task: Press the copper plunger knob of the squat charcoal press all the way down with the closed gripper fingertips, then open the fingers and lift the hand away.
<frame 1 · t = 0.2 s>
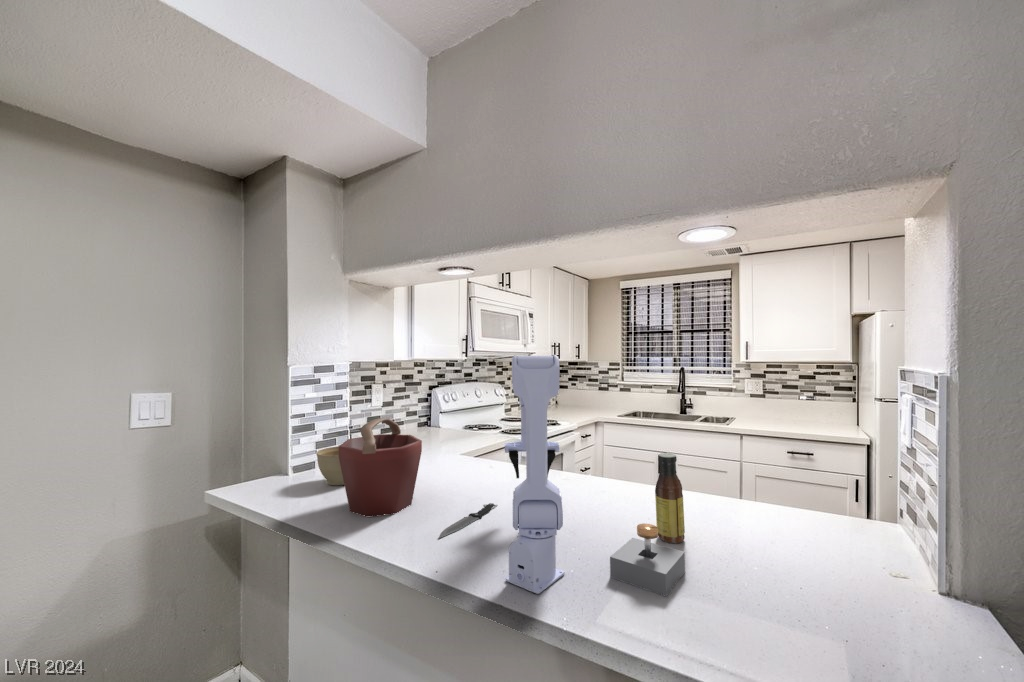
hand: (531, 476, 118), 11 cm above the countertop, tool pointing down, fingers open, 7 cm apart
planter bowl: (342, 482, 150), on the countertop
knife: (467, 522, 115), on the countertop
plunger: (647, 541, 87), point 7 cm above the countertop, slide at 3.5 cm
sauce bottle: (670, 539, 103), on the countertop
bucket: (378, 506, 126), on the countertop
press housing: (648, 574, 87), on the countertop
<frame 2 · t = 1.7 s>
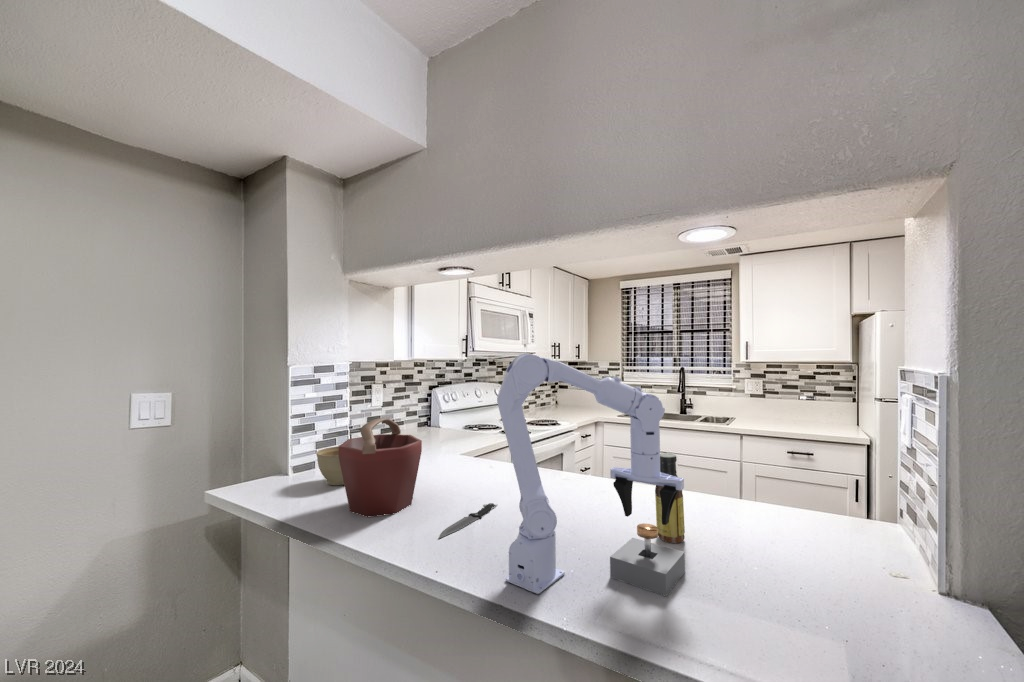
hand: (646, 518, 89), 10 cm above the countertop, tool pointing down, fingers open, 7 cm apart
nothing on the countertop moved.
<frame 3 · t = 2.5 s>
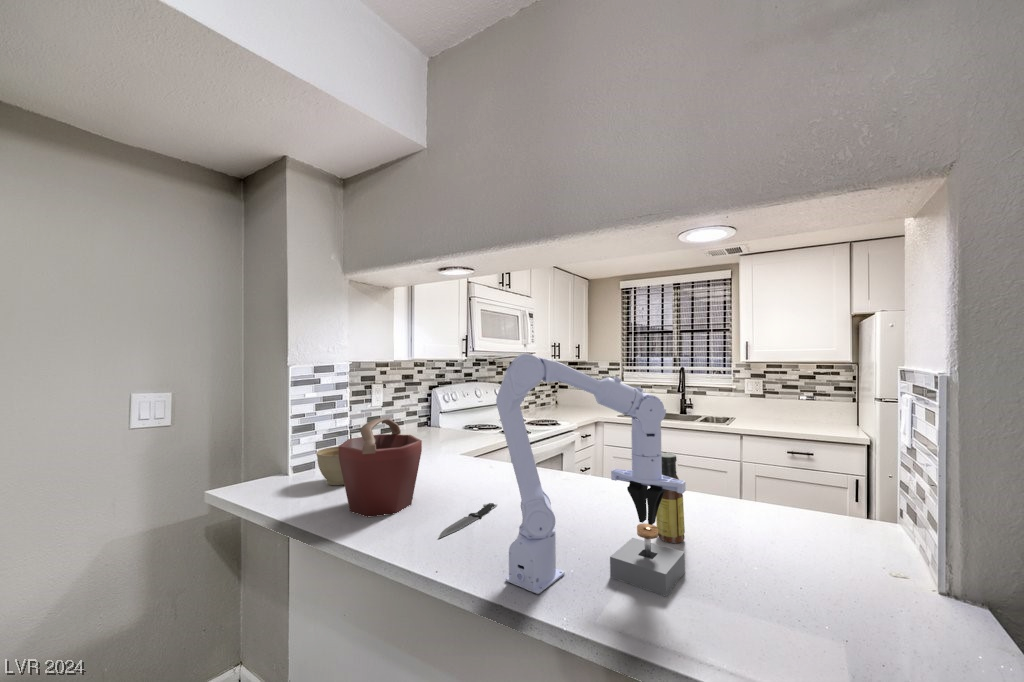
hand: (647, 521, 87), 10 cm above the countertop, tool pointing down, fingers closed
nothing on the countertop moved.
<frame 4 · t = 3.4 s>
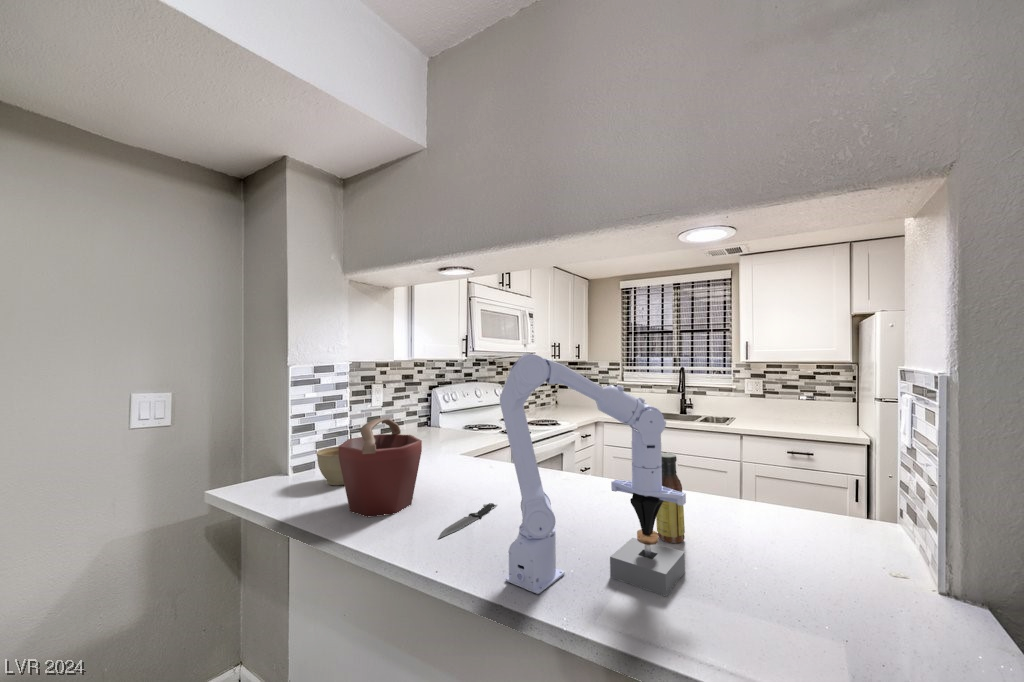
hand: (647, 533, 87), 8 cm above the countertop, tool pointing down, fingers closed, pressing on plunger
plunger: (647, 547, 87), point 5 cm above the countertop, slide at 2.4 cm, touching gripper
everything else where it was.
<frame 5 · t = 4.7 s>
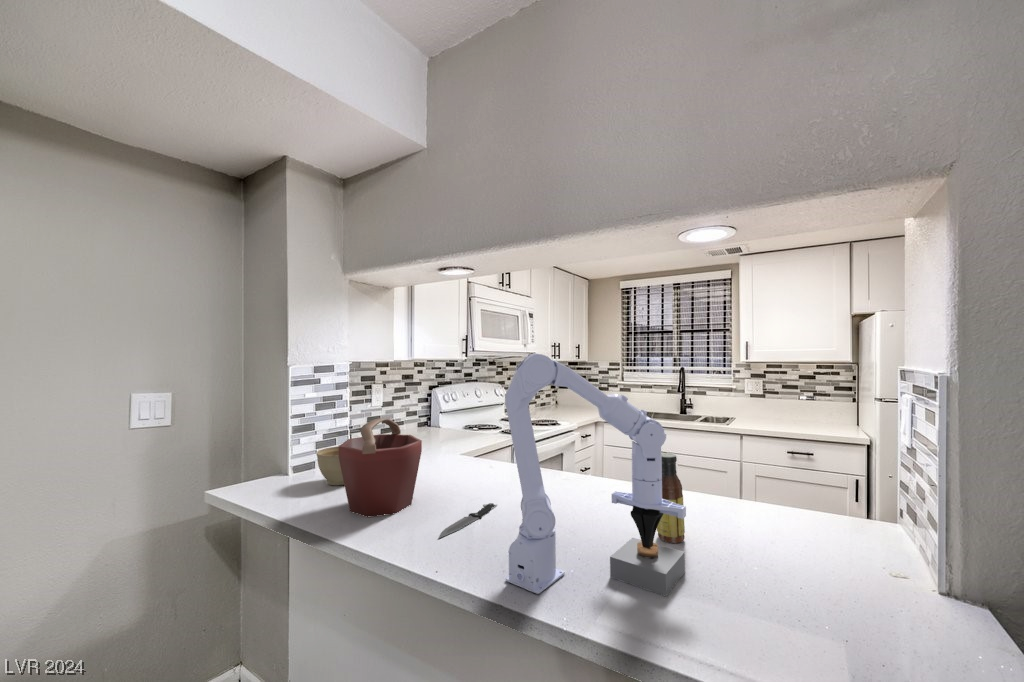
hand: (647, 545, 87), 6 cm above the countertop, tool pointing down, fingers closed, pressing on plunger
plunger: (647, 559, 87), point 3 cm above the countertop, slide at -0.1 cm, touching gripper
everything else where it was.
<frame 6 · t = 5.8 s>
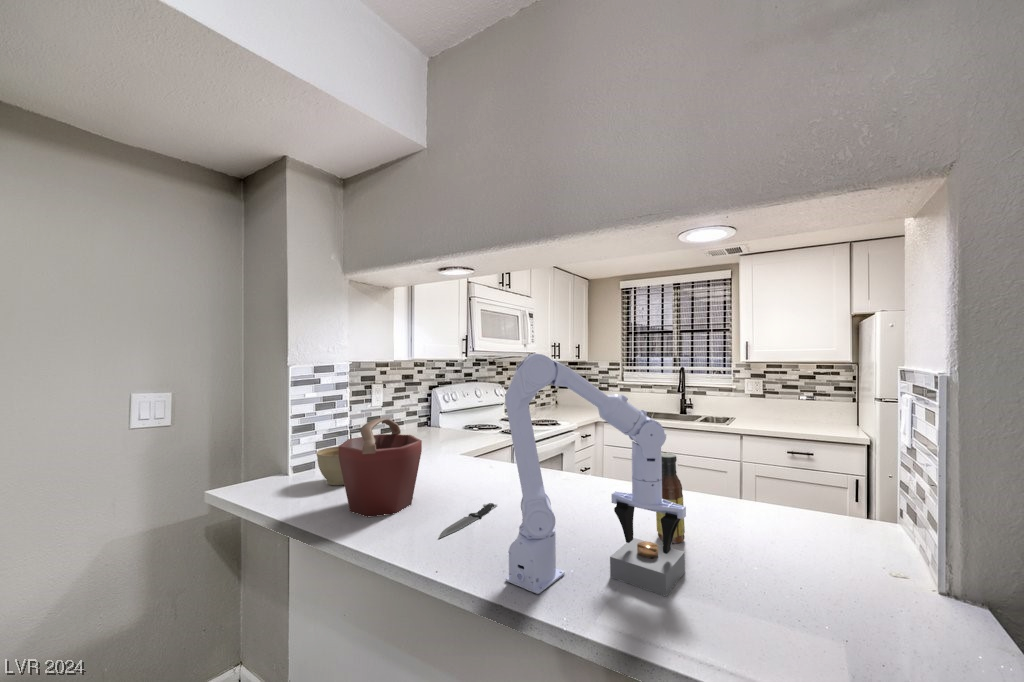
hand: (647, 546, 87), 6 cm above the countertop, tool pointing down, fingers open, 7 cm apart
plunger: (647, 559, 87), point 3 cm above the countertop, slide at -0.1 cm
everything else where it was.
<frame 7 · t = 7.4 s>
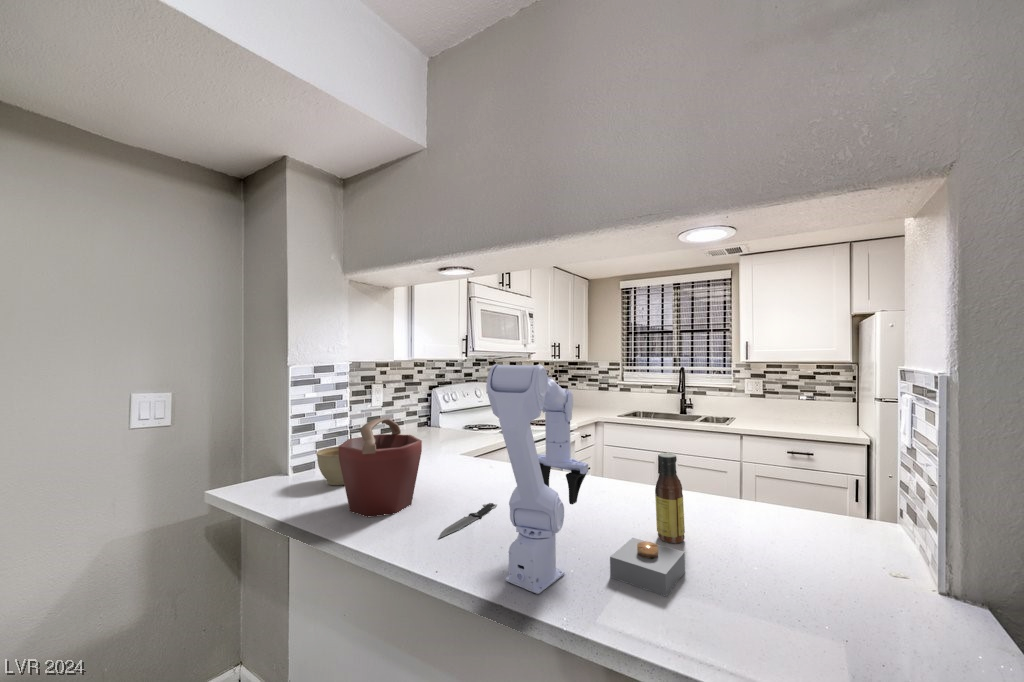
hand: (558, 499, 101), 10 cm above the countertop, tool pointing down, fingers open, 7 cm apart
nothing on the countertop moved.
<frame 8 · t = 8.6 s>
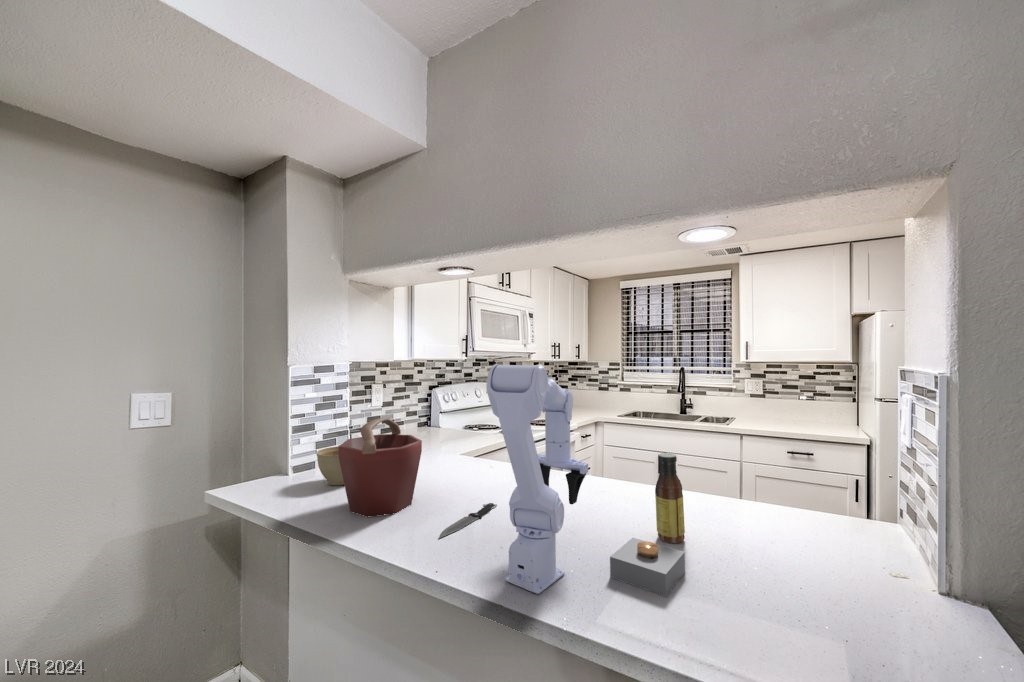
hand: (558, 499, 101), 10 cm above the countertop, tool pointing down, fingers open, 7 cm apart
nothing on the countertop moved.
at the end: plunger slide at -0.1 cm; sauce bottle moved 0.2 cm from its start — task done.
